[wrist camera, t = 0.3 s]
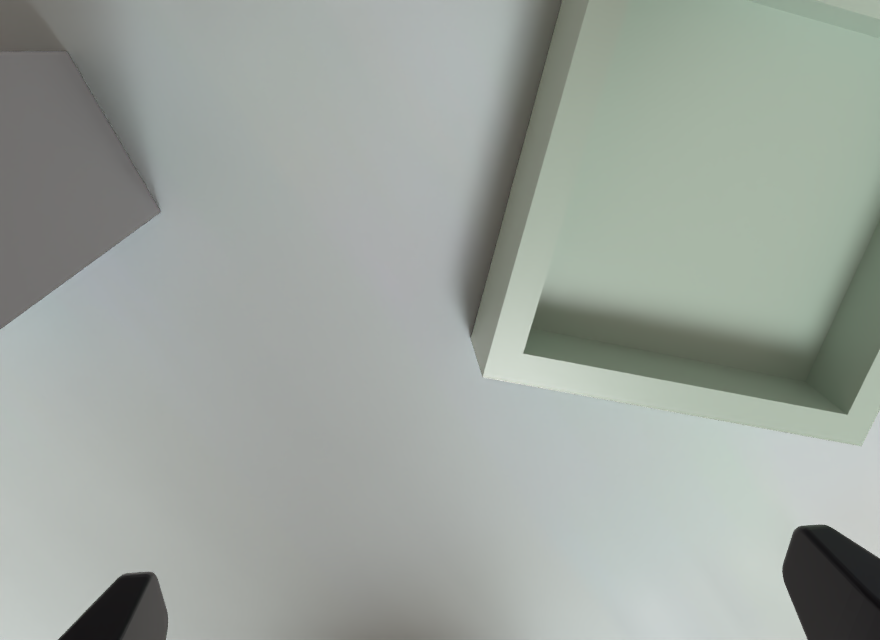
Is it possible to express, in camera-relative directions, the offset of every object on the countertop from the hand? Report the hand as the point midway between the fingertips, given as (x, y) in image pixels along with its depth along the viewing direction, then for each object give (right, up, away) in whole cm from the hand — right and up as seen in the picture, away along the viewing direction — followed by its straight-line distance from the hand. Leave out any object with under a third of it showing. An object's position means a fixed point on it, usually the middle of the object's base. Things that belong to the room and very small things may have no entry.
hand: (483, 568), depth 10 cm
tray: (+8, +8, +13) cm, 17 cm away
